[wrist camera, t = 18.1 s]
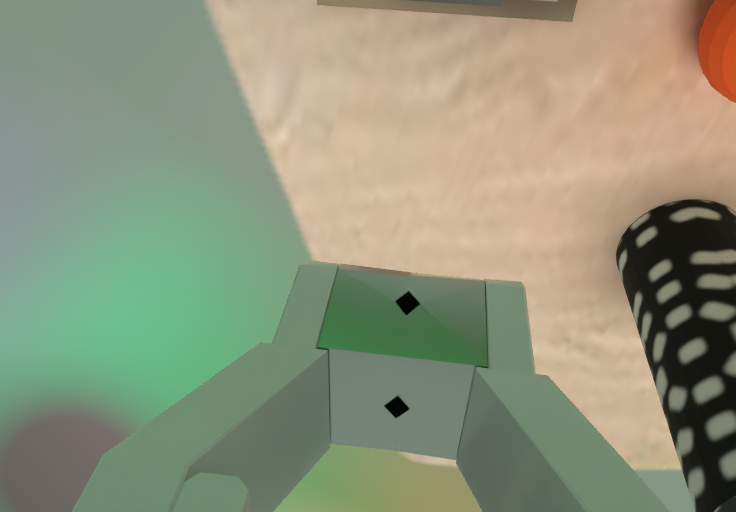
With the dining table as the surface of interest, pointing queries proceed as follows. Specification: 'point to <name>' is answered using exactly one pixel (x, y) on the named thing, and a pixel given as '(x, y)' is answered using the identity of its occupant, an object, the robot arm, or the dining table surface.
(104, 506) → the robot arm
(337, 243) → the dining table surface
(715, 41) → the clementine
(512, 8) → the board
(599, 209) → the dining table surface
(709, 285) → the spotted tube
